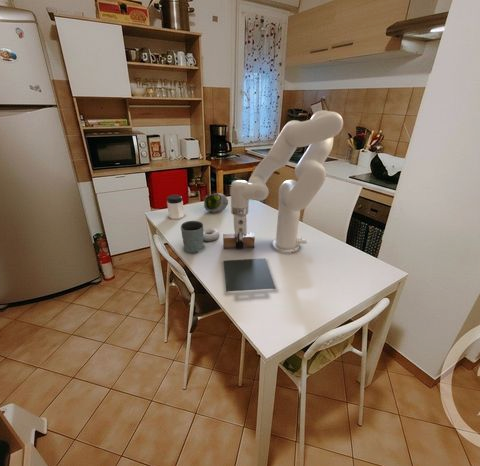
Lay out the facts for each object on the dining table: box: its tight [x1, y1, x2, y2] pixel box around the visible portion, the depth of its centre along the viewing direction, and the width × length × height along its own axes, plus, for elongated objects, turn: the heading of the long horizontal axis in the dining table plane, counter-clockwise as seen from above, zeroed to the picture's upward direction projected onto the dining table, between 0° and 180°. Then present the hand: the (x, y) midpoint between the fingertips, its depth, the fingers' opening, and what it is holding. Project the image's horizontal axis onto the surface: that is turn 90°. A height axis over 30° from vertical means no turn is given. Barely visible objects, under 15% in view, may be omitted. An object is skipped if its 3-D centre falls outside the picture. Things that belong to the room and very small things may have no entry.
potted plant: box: [203, 192, 229, 214], centre depth 158 cm, size 12×13×15 cm
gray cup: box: [180, 220, 204, 254], centre depth 119 cm, size 10×10×12 cm
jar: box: [166, 194, 185, 220], centre depth 151 cm, size 9×8×12 cm
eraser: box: [222, 232, 256, 250], centre depth 120 cm, size 14×4×6 cm, turn 96°
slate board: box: [223, 258, 276, 292], centre depth 103 cm, size 18×20×1 cm
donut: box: [203, 227, 220, 242], centre depth 130 cm, size 10×3×10 cm
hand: (239, 245), depth 121 cm, fingers closed on eraser, 4 cm apart
